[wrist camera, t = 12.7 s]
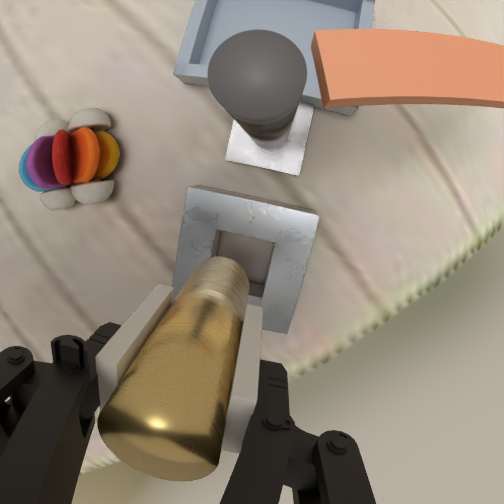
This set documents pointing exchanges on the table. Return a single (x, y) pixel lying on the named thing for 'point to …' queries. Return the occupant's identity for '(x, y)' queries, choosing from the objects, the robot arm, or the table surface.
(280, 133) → the gate post
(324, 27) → the tray
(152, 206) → the table surface
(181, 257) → the hitch block
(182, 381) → the pin
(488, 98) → the swing bar
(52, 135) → the rainbow disc toy
